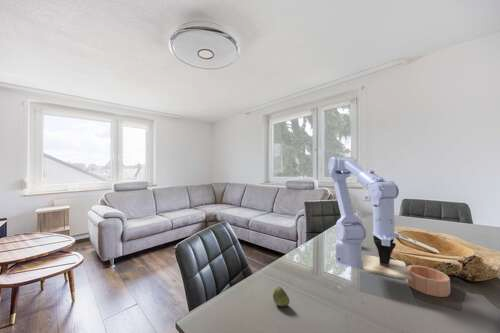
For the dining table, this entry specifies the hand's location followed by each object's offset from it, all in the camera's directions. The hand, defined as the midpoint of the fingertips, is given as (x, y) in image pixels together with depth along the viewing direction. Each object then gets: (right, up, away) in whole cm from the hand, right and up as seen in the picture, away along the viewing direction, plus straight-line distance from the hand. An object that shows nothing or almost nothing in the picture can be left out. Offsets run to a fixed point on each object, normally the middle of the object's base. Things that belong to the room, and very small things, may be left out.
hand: (384, 261), depth 65 cm
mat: (0, -8, 0) cm, 8 cm away
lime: (-34, -8, -9) cm, 36 cm away
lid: (0, -2, 0) cm, 2 cm away
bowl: (+13, -8, -1) cm, 16 cm away
